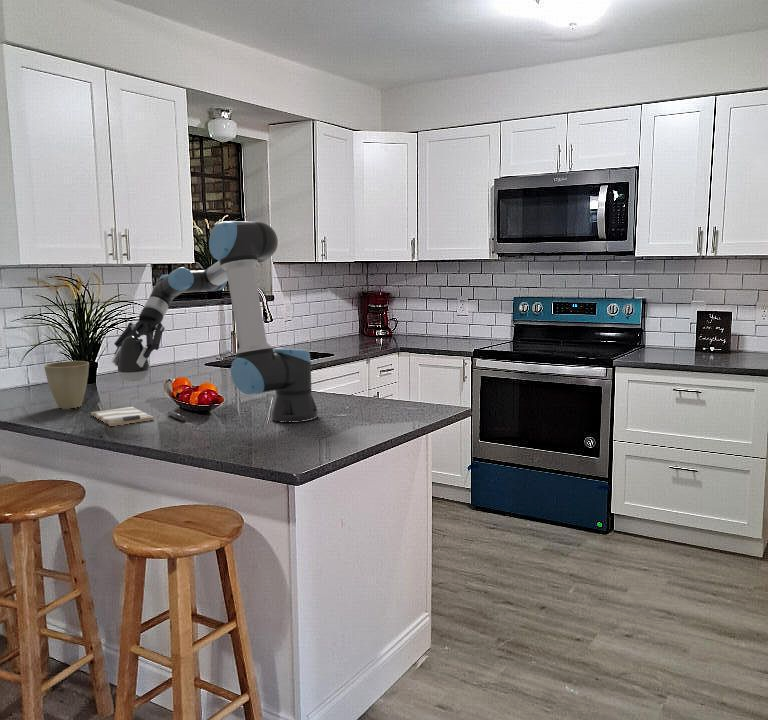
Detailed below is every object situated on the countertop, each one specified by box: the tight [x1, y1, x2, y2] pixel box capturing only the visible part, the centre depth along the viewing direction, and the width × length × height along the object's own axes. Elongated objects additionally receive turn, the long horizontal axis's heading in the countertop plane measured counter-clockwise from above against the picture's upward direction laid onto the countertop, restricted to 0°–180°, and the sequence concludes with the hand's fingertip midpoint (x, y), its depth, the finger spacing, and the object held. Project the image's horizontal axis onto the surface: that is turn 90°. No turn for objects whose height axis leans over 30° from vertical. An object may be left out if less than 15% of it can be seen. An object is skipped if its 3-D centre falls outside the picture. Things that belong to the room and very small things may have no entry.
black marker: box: [167, 410, 187, 422], centre depth 246 cm, size 14×2×2 cm, turn 36°
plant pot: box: [43, 360, 90, 410], centre depth 267 cm, size 15×15×16 cm
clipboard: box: [90, 406, 155, 427], centre depth 249 cm, size 22×14×2 cm, turn 36°
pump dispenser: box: [117, 336, 150, 383], centre depth 251 cm, size 10×10×15 cm
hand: (126, 364), depth 249 cm, fingers closed on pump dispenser, 9 cm apart
